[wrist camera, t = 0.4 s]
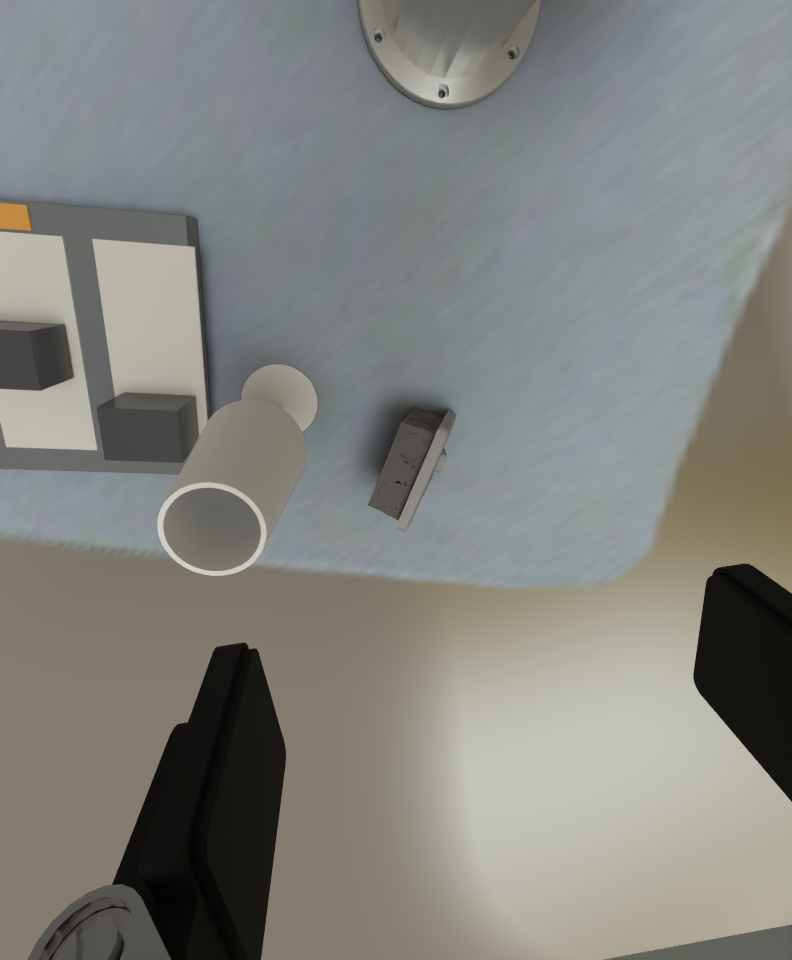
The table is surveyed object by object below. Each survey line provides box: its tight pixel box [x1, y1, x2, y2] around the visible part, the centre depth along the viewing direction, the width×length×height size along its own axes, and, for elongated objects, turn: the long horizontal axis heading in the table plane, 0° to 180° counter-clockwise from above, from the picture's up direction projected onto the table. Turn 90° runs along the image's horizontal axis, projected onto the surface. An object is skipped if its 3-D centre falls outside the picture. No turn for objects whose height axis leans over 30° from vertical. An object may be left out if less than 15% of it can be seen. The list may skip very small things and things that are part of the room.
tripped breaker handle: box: [0, 321, 73, 391], centre depth 36 cm, size 4×6×4 cm
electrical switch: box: [368, 407, 456, 532], centre depth 43 cm, size 9×5×9 cm, turn 159°
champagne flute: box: [157, 364, 318, 576], centre depth 33 cm, size 7×7×24 cm
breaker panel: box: [0, 200, 211, 474], centre depth 37 cm, size 20×25×8 cm
